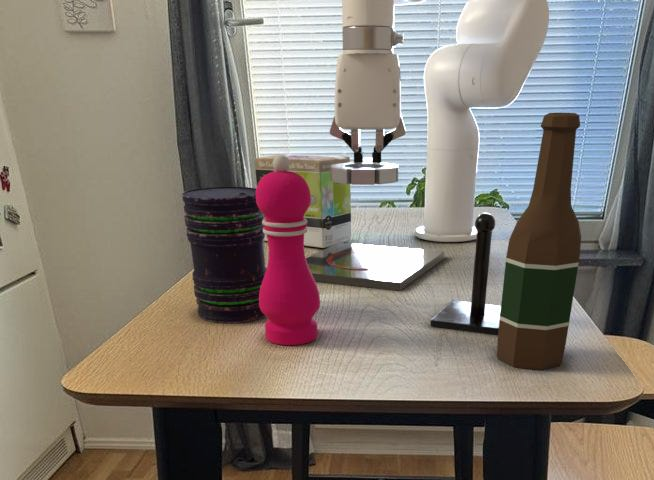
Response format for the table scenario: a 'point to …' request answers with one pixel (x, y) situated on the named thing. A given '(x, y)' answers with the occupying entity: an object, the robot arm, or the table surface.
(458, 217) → the robot arm
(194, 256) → the storage jar
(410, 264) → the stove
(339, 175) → the octagonal ring with handle
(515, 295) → the beer bottle
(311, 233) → the tea box
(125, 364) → the table surface
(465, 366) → the table surface
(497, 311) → the black peg stand
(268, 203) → the pepper mill
